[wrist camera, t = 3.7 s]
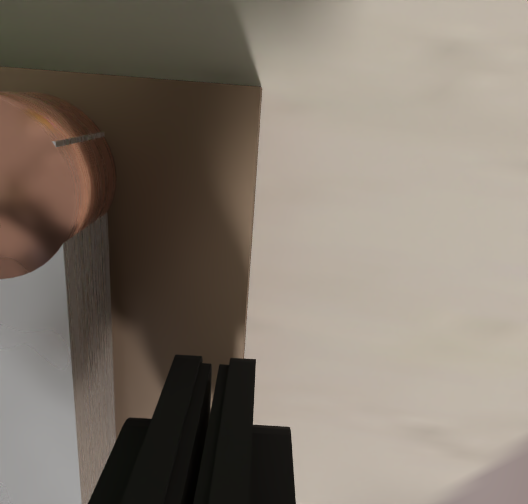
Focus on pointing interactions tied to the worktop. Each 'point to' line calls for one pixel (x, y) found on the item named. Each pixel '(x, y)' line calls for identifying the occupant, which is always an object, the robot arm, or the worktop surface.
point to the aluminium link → (54, 301)
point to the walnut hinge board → (169, 218)
